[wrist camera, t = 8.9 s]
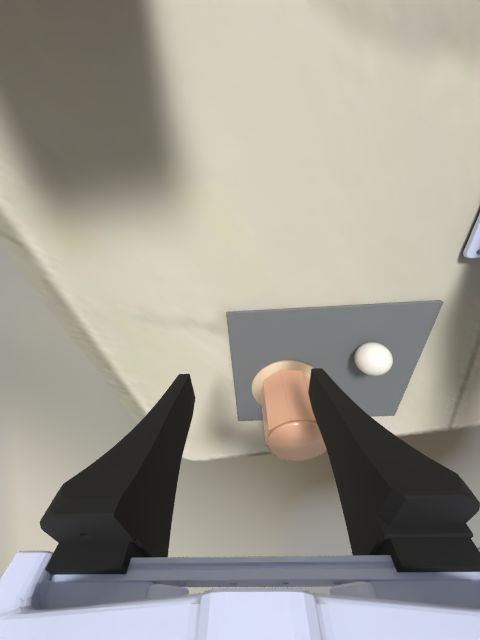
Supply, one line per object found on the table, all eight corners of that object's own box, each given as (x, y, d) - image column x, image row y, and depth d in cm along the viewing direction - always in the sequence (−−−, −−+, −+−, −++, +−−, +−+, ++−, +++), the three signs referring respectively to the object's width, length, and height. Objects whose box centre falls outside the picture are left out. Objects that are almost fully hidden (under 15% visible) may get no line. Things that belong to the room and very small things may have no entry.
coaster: (324, 358, 24) (325, 359, 23) (316, 408, 28) (317, 410, 27) (250, 361, 24) (250, 363, 24) (252, 410, 28) (253, 412, 28)
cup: (316, 371, 24) (338, 425, 19) (305, 406, 27) (321, 462, 21) (264, 368, 24) (271, 422, 18) (259, 403, 27) (263, 459, 21)
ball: (384, 335, 22) (405, 355, 19) (376, 360, 24) (394, 382, 21) (352, 336, 22) (367, 357, 20) (346, 361, 24) (360, 383, 21)
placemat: (440, 300, 21) (443, 302, 20) (392, 412, 29) (394, 415, 28) (226, 311, 21) (226, 313, 21) (238, 418, 29) (238, 421, 29)
